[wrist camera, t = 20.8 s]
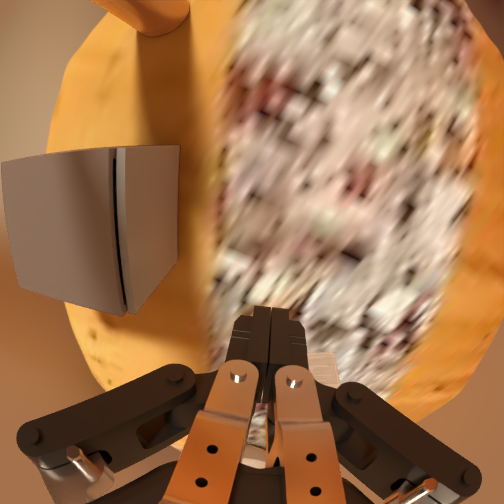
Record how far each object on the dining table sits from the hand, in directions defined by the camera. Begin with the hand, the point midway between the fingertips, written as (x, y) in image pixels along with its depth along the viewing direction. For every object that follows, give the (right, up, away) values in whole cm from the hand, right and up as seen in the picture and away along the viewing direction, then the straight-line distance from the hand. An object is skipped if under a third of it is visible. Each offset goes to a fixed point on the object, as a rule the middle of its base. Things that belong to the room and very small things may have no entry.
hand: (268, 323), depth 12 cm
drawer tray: (-21, +11, +28) cm, 37 cm away
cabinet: (-22, +12, +29) cm, 38 cm away
